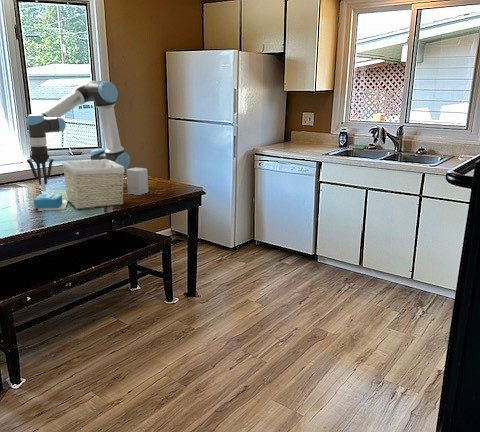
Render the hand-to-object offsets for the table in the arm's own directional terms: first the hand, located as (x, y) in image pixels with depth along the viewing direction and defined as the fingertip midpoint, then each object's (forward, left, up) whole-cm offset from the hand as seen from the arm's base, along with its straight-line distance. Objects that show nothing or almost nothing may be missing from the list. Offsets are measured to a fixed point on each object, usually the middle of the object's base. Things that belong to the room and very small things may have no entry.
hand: (44, 190), depth 232 cm
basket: (-25, -2, -8) cm, 26 cm away
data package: (+4, 0, -6) cm, 7 cm away
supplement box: (-49, -18, -9) cm, 53 cm away
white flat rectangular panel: (-4, 0, -8) cm, 9 cm away
